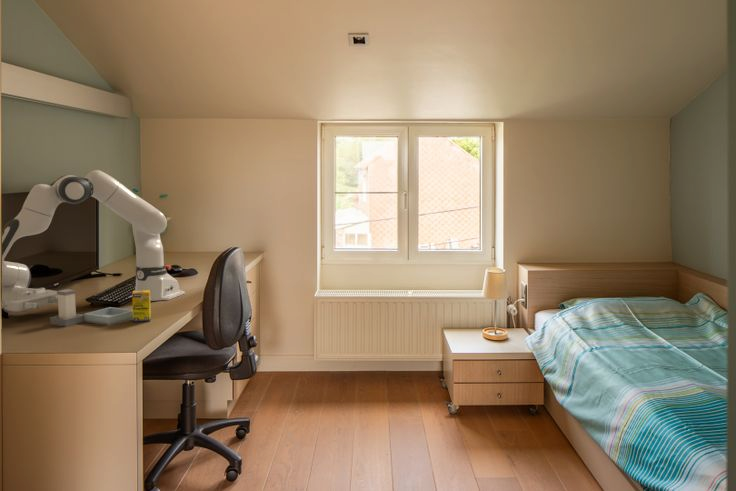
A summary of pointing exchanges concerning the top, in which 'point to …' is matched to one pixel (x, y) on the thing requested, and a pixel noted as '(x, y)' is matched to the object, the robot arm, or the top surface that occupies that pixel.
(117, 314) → the tray
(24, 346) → the top surface
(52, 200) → the robot arm
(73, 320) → the socket
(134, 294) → the supplement box
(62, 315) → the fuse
